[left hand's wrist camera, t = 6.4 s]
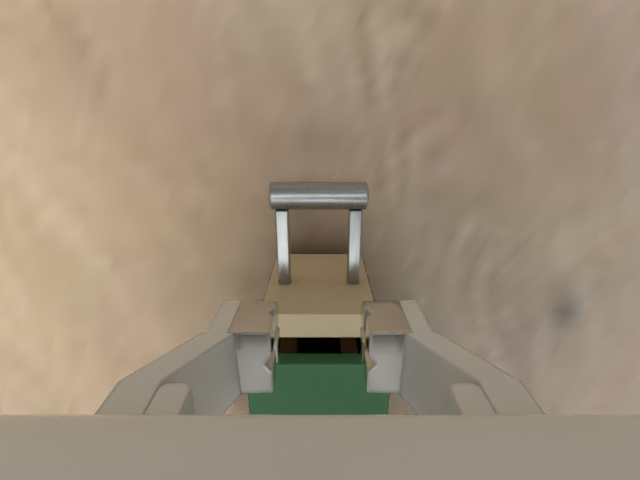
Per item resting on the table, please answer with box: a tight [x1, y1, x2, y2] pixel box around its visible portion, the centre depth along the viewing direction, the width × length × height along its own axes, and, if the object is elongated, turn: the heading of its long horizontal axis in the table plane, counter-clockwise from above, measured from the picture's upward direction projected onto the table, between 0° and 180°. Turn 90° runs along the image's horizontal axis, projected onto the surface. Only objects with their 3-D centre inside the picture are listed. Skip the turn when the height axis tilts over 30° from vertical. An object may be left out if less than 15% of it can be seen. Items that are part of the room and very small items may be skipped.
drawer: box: [264, 182, 374, 353], centre depth 20 cm, size 22×5×6 cm, turn 0°
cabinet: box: [248, 276, 390, 415], centre depth 22 cm, size 18×6×8 cm, turn 0°
